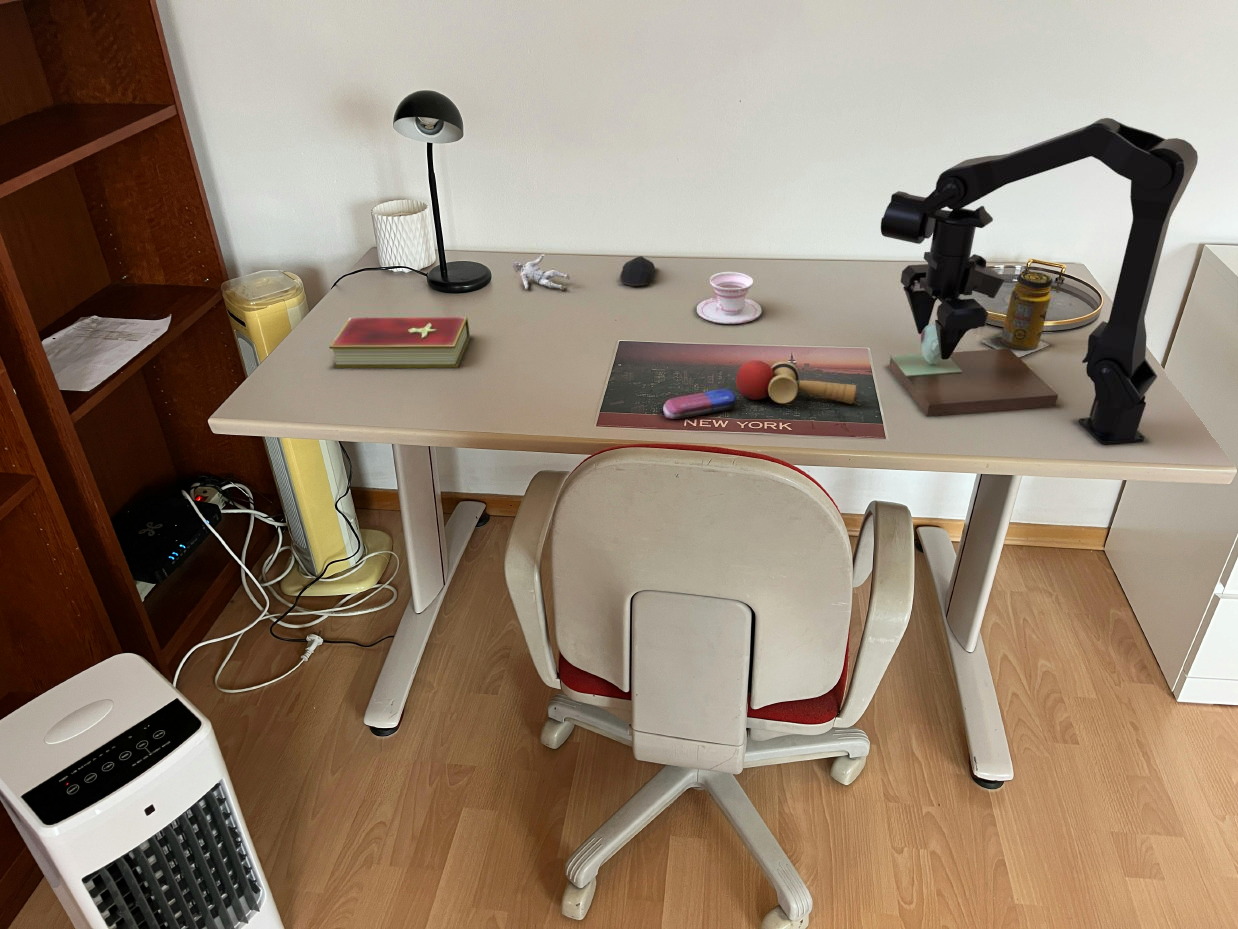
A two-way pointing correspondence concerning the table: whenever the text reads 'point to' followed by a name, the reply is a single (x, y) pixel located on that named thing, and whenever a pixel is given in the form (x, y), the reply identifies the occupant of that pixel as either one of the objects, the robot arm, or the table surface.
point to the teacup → (729, 300)
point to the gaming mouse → (637, 272)
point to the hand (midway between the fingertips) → (932, 345)
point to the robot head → (930, 344)
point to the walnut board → (972, 382)
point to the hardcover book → (401, 342)
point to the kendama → (786, 383)
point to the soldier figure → (538, 274)
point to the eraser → (699, 404)
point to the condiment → (1025, 315)
